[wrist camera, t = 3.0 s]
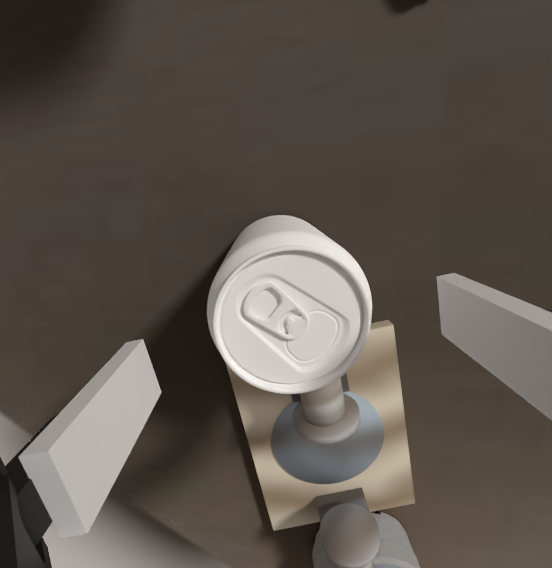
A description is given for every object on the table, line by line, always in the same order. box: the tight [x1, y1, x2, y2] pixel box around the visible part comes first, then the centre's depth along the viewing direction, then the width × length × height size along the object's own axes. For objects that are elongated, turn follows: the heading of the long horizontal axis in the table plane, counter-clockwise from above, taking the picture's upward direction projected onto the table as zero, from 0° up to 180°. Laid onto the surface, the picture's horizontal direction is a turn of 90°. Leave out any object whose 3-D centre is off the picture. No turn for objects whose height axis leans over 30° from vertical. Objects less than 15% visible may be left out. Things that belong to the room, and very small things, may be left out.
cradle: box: [226, 320, 415, 568], centre depth 27 cm, size 19×14×8 cm
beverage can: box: [207, 215, 372, 394], centre depth 21 cm, size 8×8×12 cm
